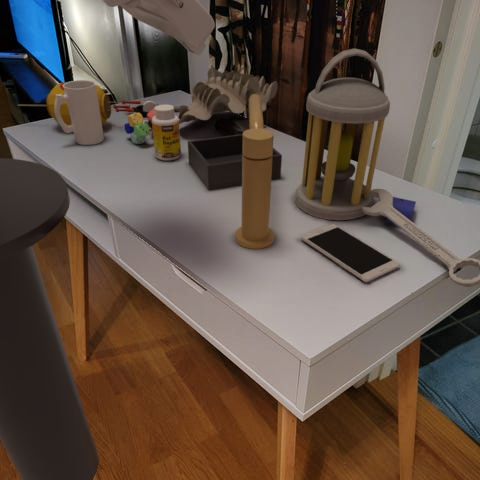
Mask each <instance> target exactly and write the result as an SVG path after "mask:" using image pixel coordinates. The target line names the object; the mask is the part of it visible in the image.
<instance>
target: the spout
mask: <svg viewBox="0 0 480 480" xmlns="http://www.w3.org/2000/svg"><path fill="white" fill-rule="evenodd" d="M247 120H248V121H249V125H250V129H248V130H246V131H244V132H243V144H242V153H243V155H244V156H246V157H248V158H252V159H264V158H268V157H270V156H272V154H273V148H274V136H275V135H274V132H273V131H272V130H269V129H266V128H265V127H264V126H265V125H264V115H263V111H262V101H261V98H260V96H259V95H258V94H252V95H251V96H250V98H249V100H248V105H247Z"/></svg>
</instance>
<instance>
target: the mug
mask: <svg viewBox="0 0 480 480" xmlns="http://www.w3.org/2000/svg"><path fill="white" fill-rule="evenodd" d="M96 85H97V84H96V82H95V81H93V80H88V79H78V80H77V79H75V80H71V81H67V83H65V84H63V87H64V92H65V95H62V94H56V99H55V106H54V111H55V116H56V119H57V121H58V122H59V123H58V125H59V126H60V127H61V129H62V130H63V132H64V133H66V134H70V133H73V134H74V138H75V142H76V143H77V144H79V145H82V146H93V145H97V144H100V143H102V142H103V141H104V140H105V139H104V130H103V126H102V123H101V116H100V110H99V103H98V96H97V90H96ZM64 101H67V105H68V109H69V114H70V118H71V122H72V124H71V125H66V124H65V123H64V122H63V120H62V118H61V115H60V106H61V103H62V102H64Z"/></svg>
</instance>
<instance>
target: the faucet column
mask: <svg viewBox="0 0 480 480" xmlns="http://www.w3.org/2000/svg"><path fill="white" fill-rule="evenodd" d="M271 175H272V156H270V157H268V158H264V159H252V158H248V157H246V156H244V155H242V185H241V225H240V227H238V228H237V229H236V231H235V233H234V240H235V242H236V243H237V244H238V245H239V246H241V247H243V248H246V249H253V250H260V249H265V248H268V247H269V246H271V245H272V244H273V243H274V241H275V232H274V231H273V229H272V228H270V227H269V226H270V211H271V210H270V209H271V194H272V193H271V192H272V191H271V190H272V180H271Z"/></svg>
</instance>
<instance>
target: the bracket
mask: <svg viewBox="0 0 480 480" xmlns="http://www.w3.org/2000/svg"><path fill="white" fill-rule="evenodd" d="M392 197H393V208H395V209H396V210H397V211H399V212H400V213H401V214H402V215H404V216H405V217H406V218H408V219H409V220H410V221H412V218H413V213H414V212H415V211H414V210H415V207H416V203H417V201H415V200H410V199H405V198H400V197H396V196H392ZM383 217H384V218H385V219H384V220H385V222H386V223H387V224H390V225H393V226H397V225H396V224H394V223H393V222H392V221H391V220H389V219H388V218H387V217H386V216H382V218H383Z"/></svg>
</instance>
